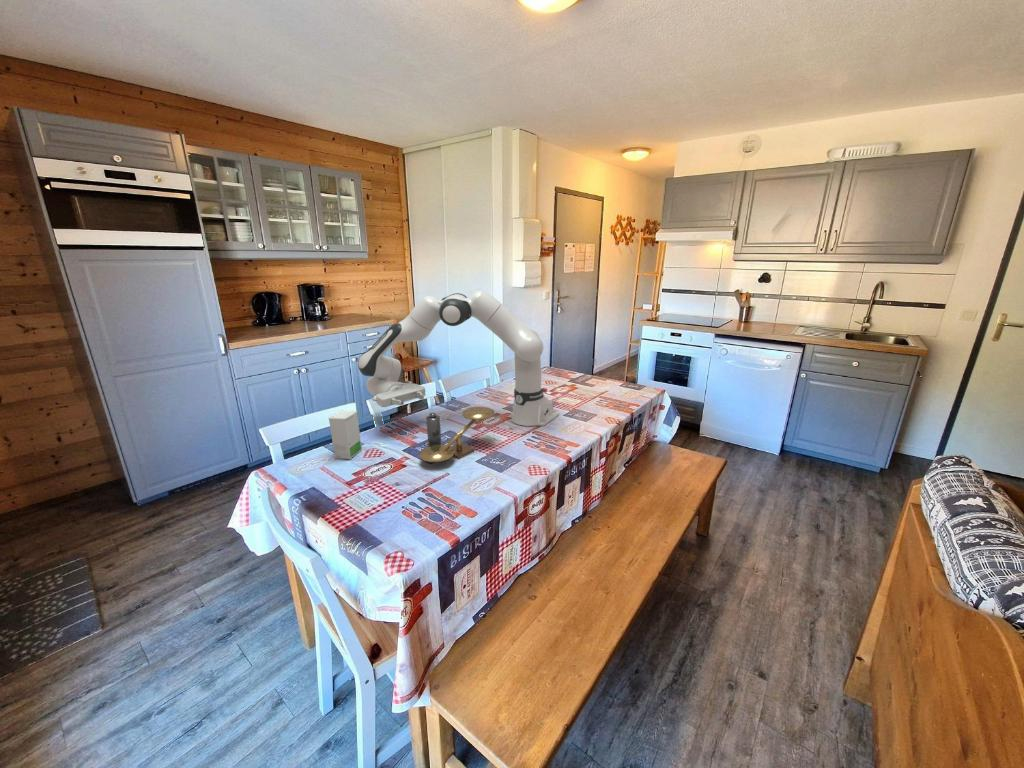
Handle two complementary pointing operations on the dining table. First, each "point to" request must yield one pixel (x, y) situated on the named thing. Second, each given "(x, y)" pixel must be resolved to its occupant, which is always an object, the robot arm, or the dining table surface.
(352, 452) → the skincare box
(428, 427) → the iron weight
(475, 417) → the balance
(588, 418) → the dining table surface
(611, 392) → the dining table surface
